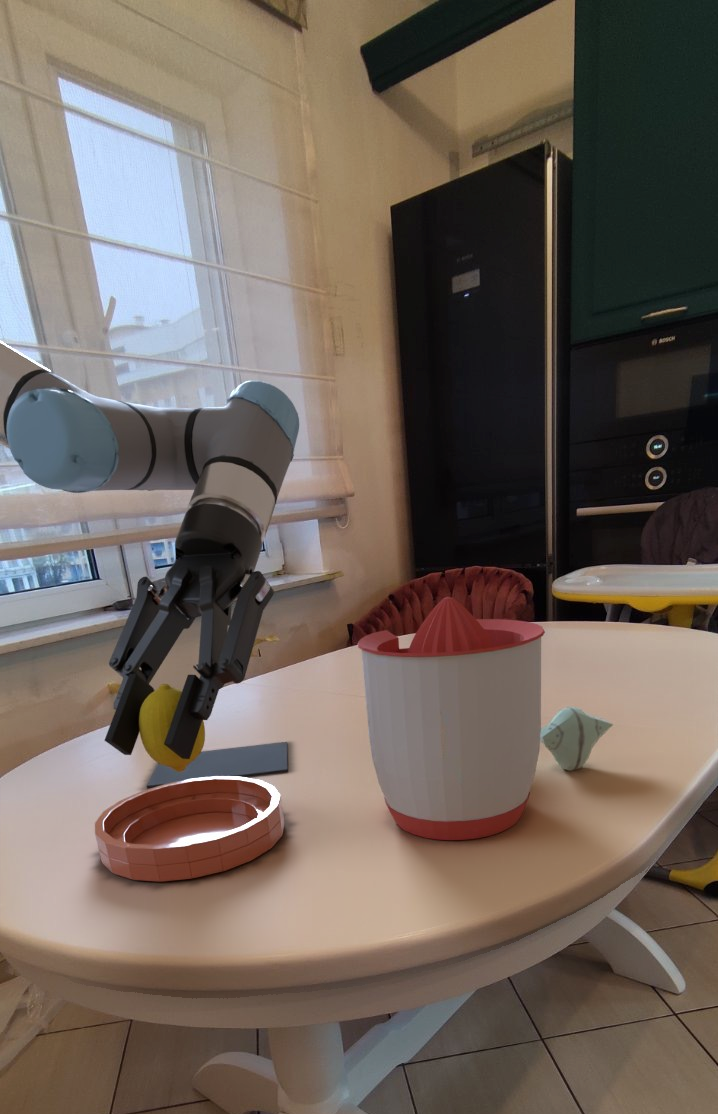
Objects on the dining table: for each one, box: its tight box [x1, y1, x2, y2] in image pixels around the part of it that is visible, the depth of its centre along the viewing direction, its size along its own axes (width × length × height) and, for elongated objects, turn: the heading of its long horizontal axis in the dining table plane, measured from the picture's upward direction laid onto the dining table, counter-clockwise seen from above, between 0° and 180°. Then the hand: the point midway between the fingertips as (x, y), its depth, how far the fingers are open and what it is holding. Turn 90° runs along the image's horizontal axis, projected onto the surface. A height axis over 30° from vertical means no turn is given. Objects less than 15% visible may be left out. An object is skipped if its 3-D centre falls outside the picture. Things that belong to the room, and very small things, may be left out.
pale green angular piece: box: [540, 706, 614, 771], centre depth 75 cm, size 8×4×7 cm, turn 105°
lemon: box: [139, 683, 206, 772], centre depth 63 cm, size 6×6×8 cm
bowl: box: [94, 776, 285, 882], centre depth 67 cm, size 17×17×4 cm
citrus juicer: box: [357, 596, 546, 841], centre depth 64 cm, size 16×17×20 cm
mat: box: [146, 741, 289, 790], centre depth 87 cm, size 16×11×1 cm
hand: (147, 749), depth 61 cm, fingers closed on lemon, 5 cm apart
